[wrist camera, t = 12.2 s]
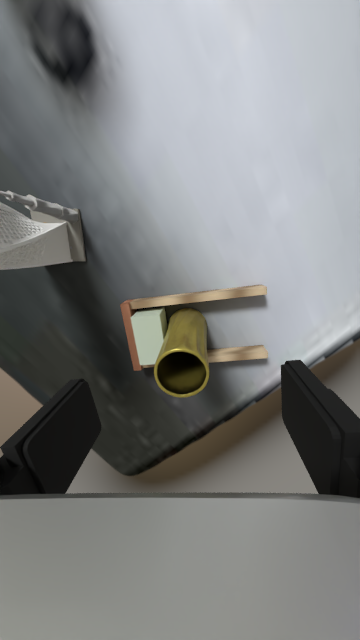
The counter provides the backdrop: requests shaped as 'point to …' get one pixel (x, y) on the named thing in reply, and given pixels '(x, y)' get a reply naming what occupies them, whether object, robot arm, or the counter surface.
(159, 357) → the vase
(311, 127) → the counter surface
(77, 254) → the skyscraper
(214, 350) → the track
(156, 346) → the block
